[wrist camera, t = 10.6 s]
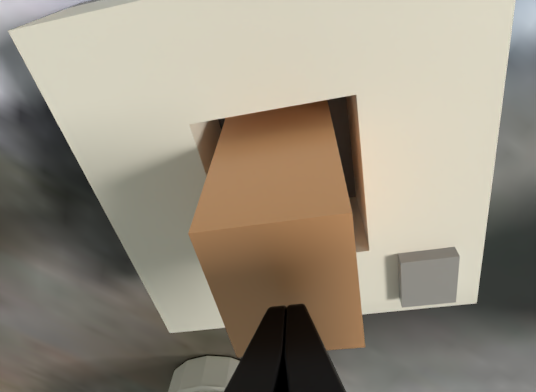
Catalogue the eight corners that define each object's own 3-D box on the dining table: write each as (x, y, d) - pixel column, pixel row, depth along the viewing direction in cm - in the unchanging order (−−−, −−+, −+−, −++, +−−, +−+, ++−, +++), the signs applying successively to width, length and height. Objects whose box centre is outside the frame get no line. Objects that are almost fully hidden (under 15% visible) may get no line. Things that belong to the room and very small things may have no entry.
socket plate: (456, -86, 13) (538, -90, 8) (441, 231, 20) (481, 313, 15) (80, 3, 14) (-4, 35, 10) (190, 262, 22) (167, 342, 17)
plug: (323, 82, 15) (352, 212, 8) (335, 184, 17) (365, 347, 11) (231, 98, 15) (188, 233, 9) (256, 195, 18) (236, 357, 11)
